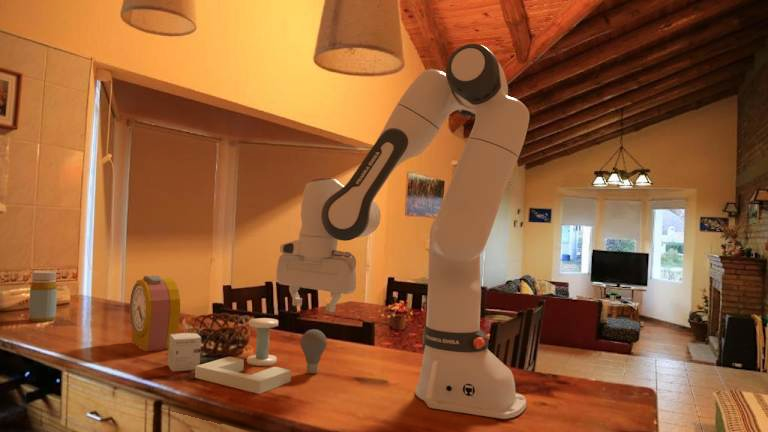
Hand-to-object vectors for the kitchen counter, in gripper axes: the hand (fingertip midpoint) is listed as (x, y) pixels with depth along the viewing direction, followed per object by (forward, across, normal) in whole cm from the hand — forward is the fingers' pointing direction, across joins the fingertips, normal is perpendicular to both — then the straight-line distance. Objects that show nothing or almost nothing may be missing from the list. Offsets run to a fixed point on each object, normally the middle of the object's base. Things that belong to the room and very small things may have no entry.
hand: (313, 308), depth 123 cm
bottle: (+17, +97, +5) cm, 99 cm away
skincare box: (+16, +25, +14) cm, 33 cm away
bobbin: (+15, +14, 0) cm, 21 cm away
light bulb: (+15, -1, 0) cm, 15 cm away
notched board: (+15, +8, +13) cm, 21 cm away
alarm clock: (+16, +47, +5) cm, 50 cm away
